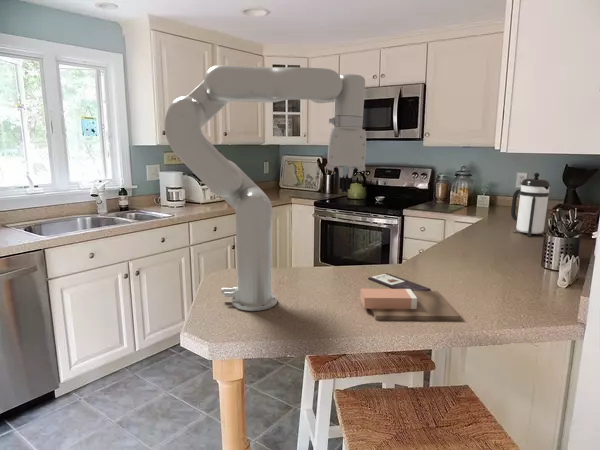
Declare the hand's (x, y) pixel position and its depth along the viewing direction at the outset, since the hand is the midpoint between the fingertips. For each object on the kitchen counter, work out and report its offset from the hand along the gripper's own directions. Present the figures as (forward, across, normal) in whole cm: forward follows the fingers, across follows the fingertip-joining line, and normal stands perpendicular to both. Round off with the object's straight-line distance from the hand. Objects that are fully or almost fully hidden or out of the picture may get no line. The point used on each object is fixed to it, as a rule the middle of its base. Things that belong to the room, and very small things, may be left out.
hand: (344, 191), depth 118 cm
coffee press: (+28, +99, +91) cm, 137 cm away
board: (+31, +19, -5) cm, 37 cm away
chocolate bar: (+31, +20, +13) cm, 39 cm away
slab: (+28, +6, -7) cm, 30 cm away
